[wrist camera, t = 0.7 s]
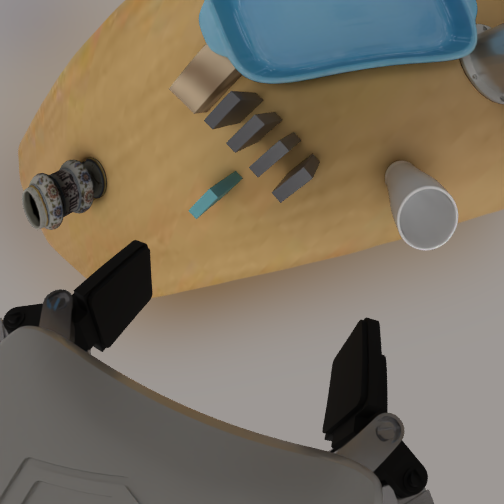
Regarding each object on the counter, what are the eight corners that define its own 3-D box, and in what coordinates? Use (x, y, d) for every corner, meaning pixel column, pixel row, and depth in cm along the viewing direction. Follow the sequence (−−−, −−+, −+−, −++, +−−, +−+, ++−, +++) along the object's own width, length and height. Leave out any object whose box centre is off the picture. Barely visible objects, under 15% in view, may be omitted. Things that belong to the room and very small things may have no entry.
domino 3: (269, 153, 38) (248, 167, 31) (293, 132, 35) (279, 140, 28) (276, 161, 38) (258, 177, 31) (301, 140, 35) (289, 150, 28)
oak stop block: (223, 42, 30) (211, 38, 27) (251, 66, 32) (241, 62, 28) (183, 88, 36) (168, 89, 33) (207, 111, 37) (194, 113, 34)
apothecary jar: (94, 142, 47) (25, 170, 32) (117, 189, 51) (52, 227, 37) (72, 168, 53) (14, 197, 38) (93, 209, 57) (37, 245, 42)
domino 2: (250, 134, 37) (226, 143, 30) (274, 111, 34) (254, 114, 27) (258, 141, 38) (235, 152, 30) (282, 119, 35) (264, 124, 27)
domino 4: (287, 173, 39) (271, 192, 32) (312, 153, 36) (303, 167, 29) (294, 181, 39) (280, 202, 32) (319, 162, 36) (312, 178, 29)
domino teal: (216, 189, 44) (188, 210, 37) (235, 170, 41) (209, 188, 34) (222, 196, 44) (196, 219, 37) (242, 178, 41) (218, 197, 34)
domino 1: (232, 115, 36) (204, 120, 29) (255, 92, 34) (231, 91, 26) (240, 122, 37) (212, 129, 30) (263, 100, 34) (240, 100, 27)
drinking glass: (373, 191, 36) (386, 239, 24) (386, 147, 32) (410, 174, 20) (414, 206, 34) (442, 259, 22) (428, 164, 30) (469, 200, 18)
